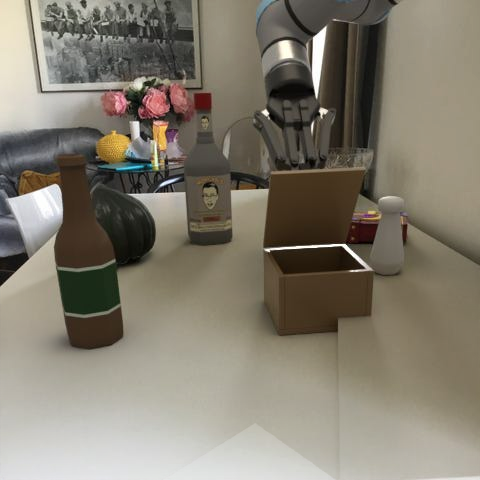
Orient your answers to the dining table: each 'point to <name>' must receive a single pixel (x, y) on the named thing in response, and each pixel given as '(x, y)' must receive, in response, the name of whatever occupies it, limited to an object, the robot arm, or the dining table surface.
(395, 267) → the salt shaker
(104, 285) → the beer bottle
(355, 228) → the decorative book
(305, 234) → the cardboard lid
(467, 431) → the dining table surface
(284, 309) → the open cardboard box
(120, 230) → the squash
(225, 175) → the liquor
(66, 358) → the dining table surface
